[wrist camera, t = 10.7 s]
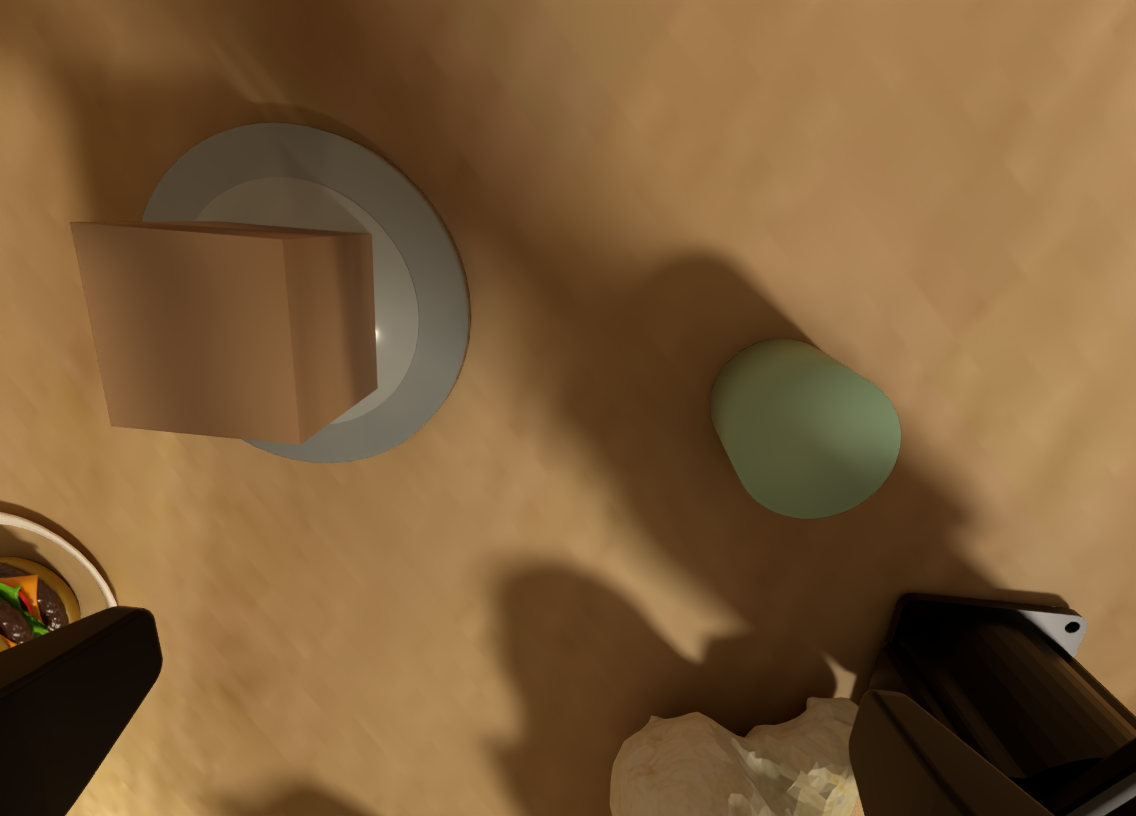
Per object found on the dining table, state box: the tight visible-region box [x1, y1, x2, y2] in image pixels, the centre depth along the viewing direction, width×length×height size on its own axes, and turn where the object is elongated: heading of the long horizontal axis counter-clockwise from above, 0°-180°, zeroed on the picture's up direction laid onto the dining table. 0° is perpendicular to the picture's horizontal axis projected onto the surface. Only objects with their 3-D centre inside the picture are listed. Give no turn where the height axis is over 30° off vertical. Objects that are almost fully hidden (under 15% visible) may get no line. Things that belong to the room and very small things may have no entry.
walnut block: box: [70, 221, 378, 445], centre depth 16 cm, size 5×5×5 cm
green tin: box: [710, 339, 901, 519], centre depth 17 cm, size 4×4×4 cm
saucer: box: [141, 123, 471, 463], centre depth 19 cm, size 11×11×1 cm
